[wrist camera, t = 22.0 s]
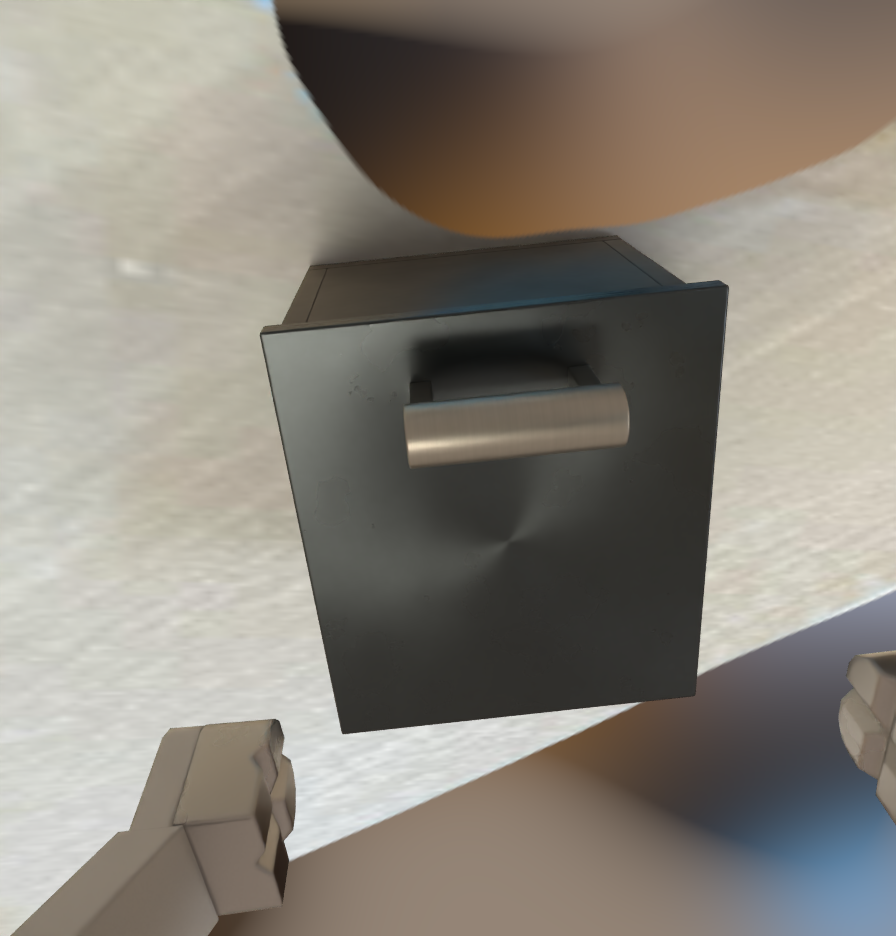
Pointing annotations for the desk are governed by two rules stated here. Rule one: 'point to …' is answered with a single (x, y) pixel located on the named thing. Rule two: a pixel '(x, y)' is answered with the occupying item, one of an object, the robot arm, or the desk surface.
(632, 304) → the bin lid
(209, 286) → the desk surface
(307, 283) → the waste bin
